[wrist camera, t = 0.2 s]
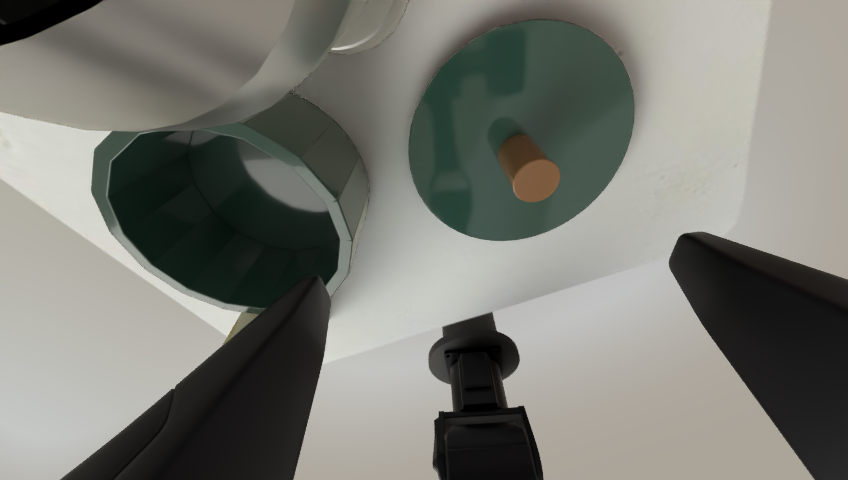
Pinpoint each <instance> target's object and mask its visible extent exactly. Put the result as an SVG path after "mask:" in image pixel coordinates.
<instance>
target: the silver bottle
mask: <svg viewBox="0 0 848 480" xmlns="http://www.w3.org/2000/svg"><path fill="white" fill-rule="evenodd" d="M407 4H408V0H0V112H3V113H7V114H12V115H16V116H20V117H24V118H29V119H34V120H39V121H43V122H48V123H53V124H58V125H63V126H68V127H73V128H78V129H83V130H98V131H129V132H148V131H188V130H199V129H205V128H210V127H216V126H221V125H227V124H233V123H236V122H238V121H241V120H243V119H245V118H247V117H249V116H252V115H254V114H256V113H258V112H261V111H263V110H265V109H267V108H269V107H271V106H273V105H274V104H275V103H276V102H277V101H279V100H280V99H281V98H282V97H284V96H285V95H286V94H287V93H288V92H290V91H291V90H292V89H293V88H294V87H296V86H297V85H298V84H299V83H301V82H302V81H303V80H304V79H305V78H306V77H307V76H308V75H310V74H311V73H312V72H313V71H314V70H316V69H317V68H318V67H319V65H320V64H321V63H322V61H323V60H324V59H325V57H326V56H327V55H328V53H329V52H332V53H339V54H354V53H359V52H364V51H366V50H369V49H371V48H373V47H375V46H377V45H378V44H380V43H381V42H382V41H384V40H385V39H386V38H387V37H388V36H389V35H390V34H391V33H392V32H393V30H394V29H395V28H396V27H397V25H398V24H399V22H400V20H401V18H402V16H403V14H404V12H405V10H406V7H407Z"/></svg>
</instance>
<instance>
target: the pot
mask: <svg viewBox="0 0 848 480" xmlns="http://www.w3.org/2000/svg"><path fill="white" fill-rule="evenodd" d="M94 150H95V151H94V158H93V171H92V185H91V191H92V195H93V197H94V199H95V201H96V203H97V205H98V208H99V210H100V212H101V214H102V216H103V218H104V221H105V223H106V225H107V227H108V229H109V231H110V232H111V234H112V235H113V236H114V237H115V238H116V239H117V240H118V241H119V243H120V244H121V245H122V246H123V247H124V248H125V249H126V250H127V251H128V252H129V253H130V254H131V255H132V256H133V257H134V258H135V259H136V260H137V262H138V263H139V264H140V265H141V266H142V267H144V269H146V270H147V271H149V272H150V273H152V274H153V275H155V276H156V277H158V278H160V279H161V280H163V281H164V282H166V283H167V284H169V285H170V286H172V287H173V288H175V289H177V290H178V291H180V292H181V293H184V294H186V295H188V296H191V297H194V298H196V299H199V300H201V301H204V302H207V303H209V304H212V305H215V306H217V307H220V308H223V309H226V310H232V311H238V312H245V313H252V314H260V313H261V312H262V311H264V310H265V309H266V308H267V307H268V306H269V305H271V304H272V303H273V302H274V301H275V300H276V299H278V298H279V297H280V296H281V295H282V294H283V293H285V292H286V291H287V290H288V289H289V288H290V287H292V286H293V285H294V284H295V283H296V282H297V281H299V280H300V279H301V278H302V277H305V276H314V275H317V276H319V277H320V278H321V279H322V281H323V283H324V285H325V287H326V289H327V291H328V294H329V296H330V297H331V296H332V295H333V294H334V292H335V291H336V290H337V289H338V287H339V286H340V285H341V283H342V282H343V281H344V280H345V278H346V277H347V276H348V274H349V272H350V269H351V265H352V262H353V259H354V255H355V252H356V249H357V245H358V242H359V239H360V235H361V232H362V229H363V225H364V222H365V219H366V212H367V206H368V201H369V191H370V190H369V185H368V178H367V173H366V170H365V167H364V164H363V161H362V159H361V157H360V155H359V153H358V151H357V149H356V147H355V146H354V144H353V143H352V141H351V140H350V138H349V137H348V135H347V134H346V133H345V132H344V131H343V130H342V128H341V127H340V126H339V125H338V124H337V123H336V122H335V121H334V120H333V119H332V118H330V117H329V116H328V115H327V114H326V113H324V112H323V111H322V110H320V109H319V108H318V107H316V106H315V105H313V104H311V103H310V102H308V101H306V100H305V99H303V98H301V97H298V96H296V95H294V94H292V93H290V92H288V93H287V94H286V95H285V96H284V97H282V98H281V99H280V100H279V101H277V102H276V103H275V104H274V105H273V106H271V107H269V108H267V109H265V110H263V111H261V112H258V113H256V114H254V115H252V116H249V117H247V118H245V119H243V120H241V121H238V122H236V123H233V124H227V125H221V126H216V127H210V128H205V129H199V130H188V131H148V132H129V131H112V132H111V133H110V134H109V135H108V136H107V137H106V138H105V139H104V140H103V141H102V142H101V143H100V144H99V145H98V146H97V147H96V148H95V149H94Z"/></svg>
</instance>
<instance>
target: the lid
mask: <svg viewBox="0 0 848 480" xmlns="http://www.w3.org/2000/svg"><path fill="white" fill-rule="evenodd" d="M633 124H634V98H633V90H632V86H631V83H630V79H629V76H628V74H627V72H626V69H625V67H624V65H623V63H622V61H621V60H620V59H619V57H618V56H617V54H616V53H615V52H614V50H613V49H612V48H611V47H610V46H609V45H608V44H607V43H606V42H605V41H604V40H603V39H601V38H600V37H598V36H597V35H595V34H594V33H592V32H591V31H589V30H587V29H585V28H583V27H580V26H578V25H575V24H573V23H568V22H564V21H559V20H550V19H531V20H522V21H516V22H512V23H509V24H505V25H501V26H499V27H496V28H494V29H492V30H489V31H487V32H485V33H483V34H481V35H479V36H478V37H476V38H474V39H473V40H471V41H469V42H468V43H466V44H465V45H464V46H463V47H461V48H460V49H459V50H458V51H456V52H455V53H454V54H453V55H452V56H451V57H450V58H449V59H448V60H447V61H446V62H445V63H444V64H443V65H442V66H441V67H440V68H439V70H438V71H437V72H436V74H435V75H434V76H433V78H432V79H431V80H430V82H429V84H428V85H427V87H426V89H425V91H424V92H423V94H422V96H421V98H420V100H419V103H418V105H417V108H416V110H415V113H414V117H413V121H412V124H411V130H410V137H409V163H410V170H411V174H412V177H413V181H414V184H415V186H416V188H417V191H418V193H419V195H420V196H421V198H422V200H423V201H424V203H425V204H426V206H427V207H428V208H429V209H430V211H431V212H432V213H433V214H434V215H435V216H436V217H437V218H438V219H439V220H441V221H442V222H443V223H445V224H446V225H448V226H449V227H451V228H453V229H454V230H456V231H458V232H460V233H463V234H465V235H468V236H471V237H475V238H479V239H485V240H492V241H509V240H518V239H524V238H529V237H532V236H536V235H539V234H542V233H545V232H547V231H550V230H552V229H554V228H556V227H558V226H560V225H562V224H564V223H565V222H567V221H569V220H570V219H572V218H574V217H575V216H576V215H578V214H579V213H580V212H582V211H583V210H584V209H585V208H586V207H588V206H589V205H590V204H591V203H592V202H593V201H594V200H595V199H596V198H597V197H598V196H599V195H600V194H601V192H602V191H603V190H604V189H605V188H606V186H607V185H608V184H609V182H610V181H611V180H612V178H613V177H614V175H615V173H616V172H617V170H618V168H619V167H620V165H621V163H622V160H623V158H624V156H625V154H626V151H627V149H628V145H629V142H630V139H631V135H632V129H633Z"/></svg>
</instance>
